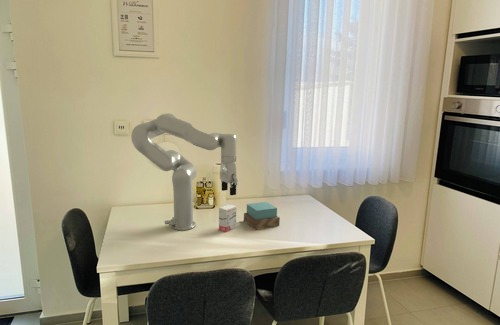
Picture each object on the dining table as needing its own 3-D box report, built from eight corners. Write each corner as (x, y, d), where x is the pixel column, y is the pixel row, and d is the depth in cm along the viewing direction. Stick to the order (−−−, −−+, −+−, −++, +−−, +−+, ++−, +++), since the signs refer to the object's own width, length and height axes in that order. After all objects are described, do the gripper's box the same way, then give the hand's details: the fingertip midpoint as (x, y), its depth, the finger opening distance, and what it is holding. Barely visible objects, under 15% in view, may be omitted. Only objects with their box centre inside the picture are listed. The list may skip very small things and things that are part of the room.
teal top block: (256, 219, 191) (256, 210, 190) (246, 212, 201) (246, 204, 200) (276, 217, 196) (277, 208, 195) (266, 210, 206) (266, 201, 206)
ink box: (225, 232, 185) (225, 209, 183) (218, 230, 188) (218, 207, 185) (236, 227, 192) (236, 205, 189) (229, 225, 194) (229, 203, 192)
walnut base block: (256, 230, 190) (256, 221, 189) (243, 221, 202) (243, 213, 201) (279, 226, 196) (279, 217, 195) (265, 218, 208) (266, 209, 207)
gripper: (214, 156, 188) (214, 189, 192) (229, 162, 173) (229, 197, 177) (228, 155, 192) (228, 187, 195) (243, 161, 177) (243, 196, 180)
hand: (228, 192), depth 186 cm, fingers open, 9 cm apart
